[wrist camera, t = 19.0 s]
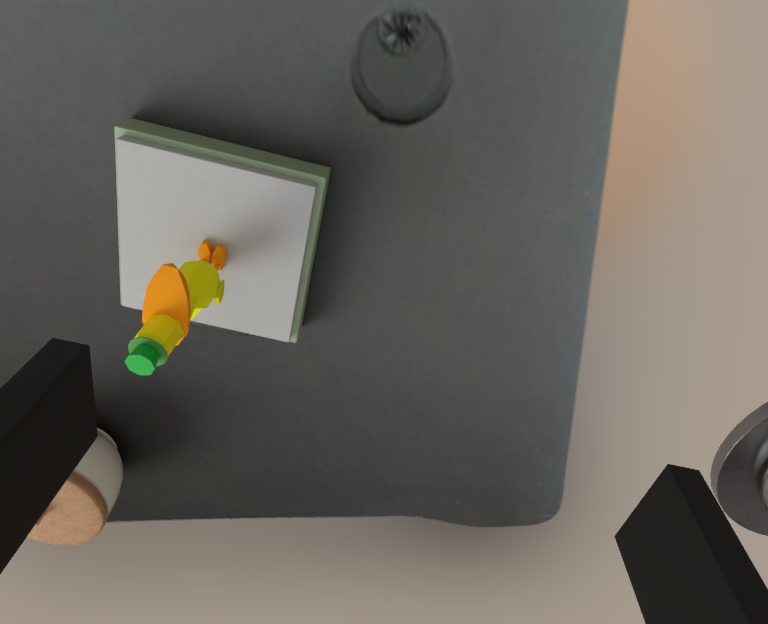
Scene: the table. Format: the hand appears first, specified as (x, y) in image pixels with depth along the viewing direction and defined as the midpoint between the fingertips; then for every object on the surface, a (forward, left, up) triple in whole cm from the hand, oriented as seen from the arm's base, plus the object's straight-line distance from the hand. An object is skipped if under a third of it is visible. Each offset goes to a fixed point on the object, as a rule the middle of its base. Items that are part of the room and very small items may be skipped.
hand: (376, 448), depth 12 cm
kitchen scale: (+11, +10, -28) cm, 32 cm away
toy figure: (+11, +10, -25) cm, 29 cm away
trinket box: (+23, +37, -28) cm, 52 cm away
